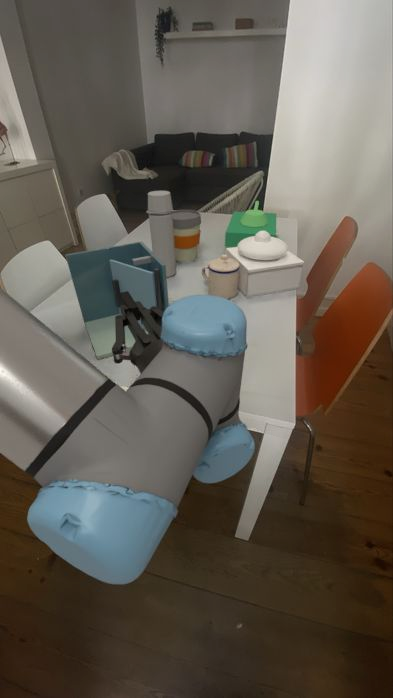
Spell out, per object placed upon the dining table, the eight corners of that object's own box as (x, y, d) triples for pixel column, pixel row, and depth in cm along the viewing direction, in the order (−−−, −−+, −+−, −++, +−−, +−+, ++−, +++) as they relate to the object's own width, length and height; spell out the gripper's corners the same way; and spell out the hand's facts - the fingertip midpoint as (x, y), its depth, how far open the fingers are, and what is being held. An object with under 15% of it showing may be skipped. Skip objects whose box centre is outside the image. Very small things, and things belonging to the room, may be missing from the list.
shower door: (117, 321, 82) (105, 261, 72) (122, 317, 83) (111, 259, 73) (155, 337, 76) (147, 275, 66) (160, 333, 77) (153, 272, 67)
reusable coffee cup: (201, 263, 113) (201, 219, 104) (166, 263, 114) (163, 220, 104) (201, 250, 123) (201, 209, 114) (169, 250, 124) (166, 209, 114)
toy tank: (277, 199, 135) (277, 224, 108) (273, 228, 143) (272, 258, 116) (236, 197, 138) (226, 221, 111) (234, 226, 146) (224, 255, 119)
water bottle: (181, 275, 106) (176, 193, 90) (160, 281, 103) (152, 197, 87) (168, 265, 112) (162, 188, 97) (147, 271, 109) (138, 191, 93)
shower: (97, 359, 72) (76, 283, 60) (84, 324, 83) (65, 254, 71) (171, 338, 78) (165, 264, 66) (150, 308, 89) (141, 241, 77)
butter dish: (271, 266, 110) (278, 218, 100) (299, 289, 96) (309, 237, 87) (224, 273, 106) (226, 224, 96) (245, 298, 93) (250, 244, 83)
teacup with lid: (243, 290, 97) (246, 253, 89) (228, 303, 91) (230, 264, 84) (210, 281, 102) (210, 245, 95) (194, 292, 96) (193, 255, 89)
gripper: (129, 408, 44) (94, 323, 60) (213, 379, 48) (159, 307, 65) (121, 367, 39) (85, 287, 56) (214, 339, 43) (155, 273, 60)
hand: (125, 298), depth 60 cm, fingers closed
